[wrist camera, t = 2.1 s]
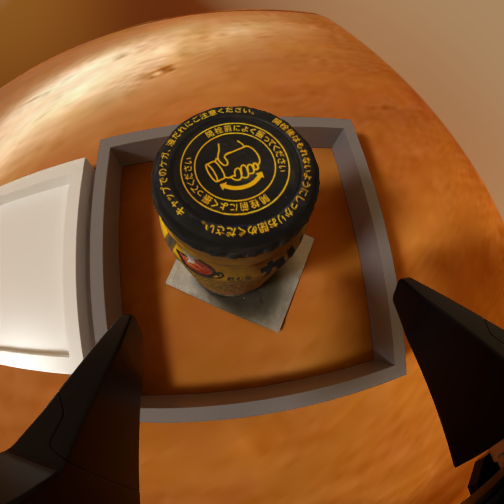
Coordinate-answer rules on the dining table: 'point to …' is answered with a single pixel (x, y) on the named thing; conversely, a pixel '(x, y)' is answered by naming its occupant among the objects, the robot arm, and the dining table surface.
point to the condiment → (237, 210)
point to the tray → (46, 269)
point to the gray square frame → (371, 256)
